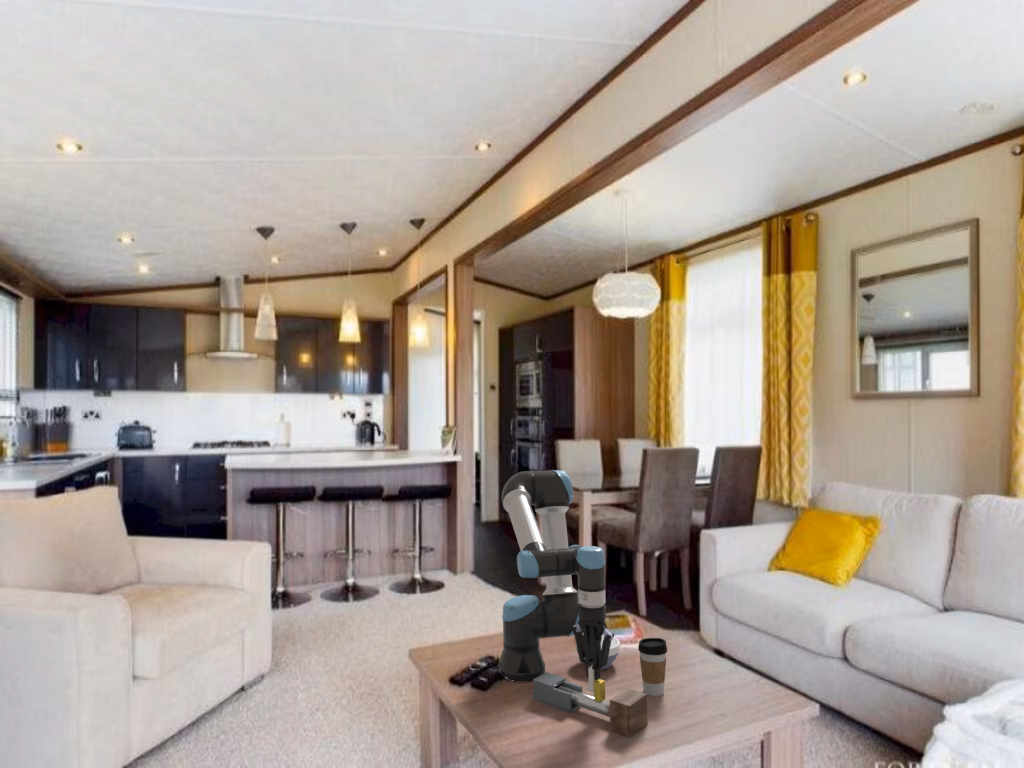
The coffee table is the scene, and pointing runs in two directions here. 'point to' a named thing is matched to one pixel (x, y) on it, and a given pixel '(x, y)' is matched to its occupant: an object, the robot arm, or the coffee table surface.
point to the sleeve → (554, 692)
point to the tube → (590, 698)
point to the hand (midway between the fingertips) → (593, 690)
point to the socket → (628, 712)
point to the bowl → (611, 651)
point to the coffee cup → (653, 665)
